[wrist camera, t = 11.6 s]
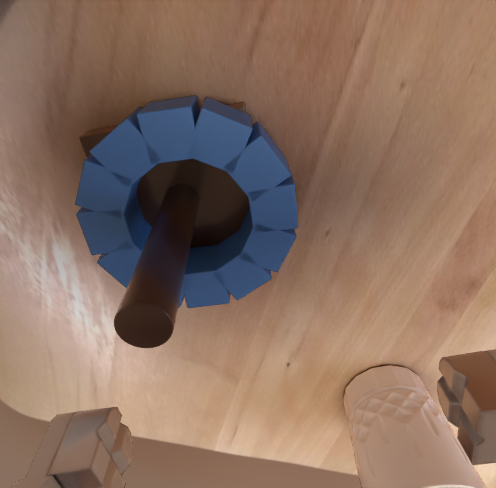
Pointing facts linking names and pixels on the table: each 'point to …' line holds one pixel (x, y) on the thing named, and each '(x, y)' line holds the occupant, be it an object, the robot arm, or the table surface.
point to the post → (173, 237)
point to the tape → (204, 150)
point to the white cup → (403, 434)
